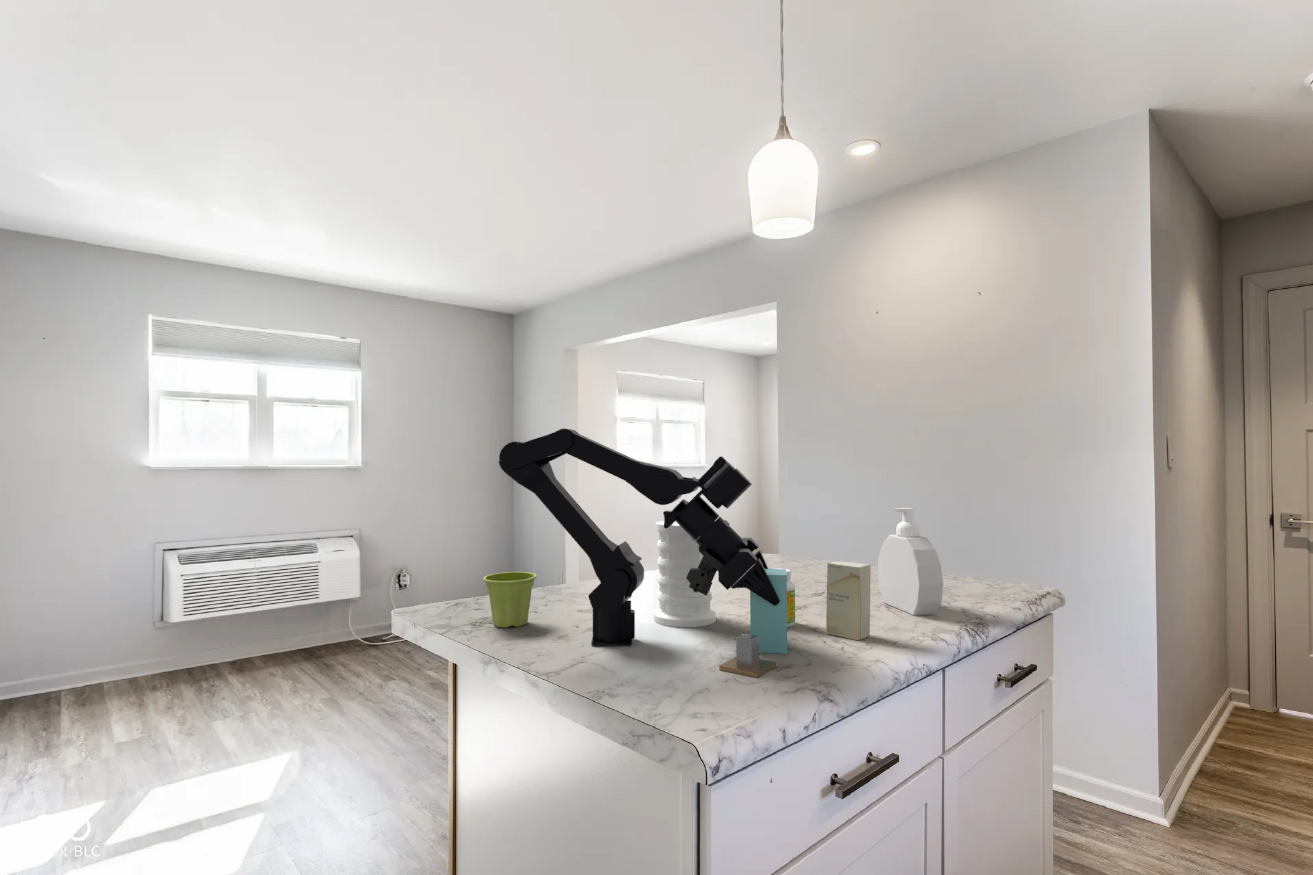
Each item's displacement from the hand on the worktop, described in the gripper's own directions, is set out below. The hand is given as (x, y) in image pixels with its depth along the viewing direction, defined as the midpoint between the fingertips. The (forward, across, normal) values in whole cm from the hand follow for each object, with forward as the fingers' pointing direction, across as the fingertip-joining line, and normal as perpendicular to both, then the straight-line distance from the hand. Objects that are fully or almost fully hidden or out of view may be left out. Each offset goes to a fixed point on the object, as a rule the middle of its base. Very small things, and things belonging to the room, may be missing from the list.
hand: (777, 599), depth 106 cm
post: (+2, +11, -8) cm, 14 cm away
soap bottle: (+24, -32, +13) cm, 42 cm away
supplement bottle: (+6, -16, -5) cm, 18 cm away
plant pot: (-28, -8, -39) cm, 49 cm away
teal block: (+4, 0, -6) cm, 8 cm away
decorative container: (-6, -16, -18) cm, 25 cm away
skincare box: (+14, -10, +3) cm, 17 cm away
